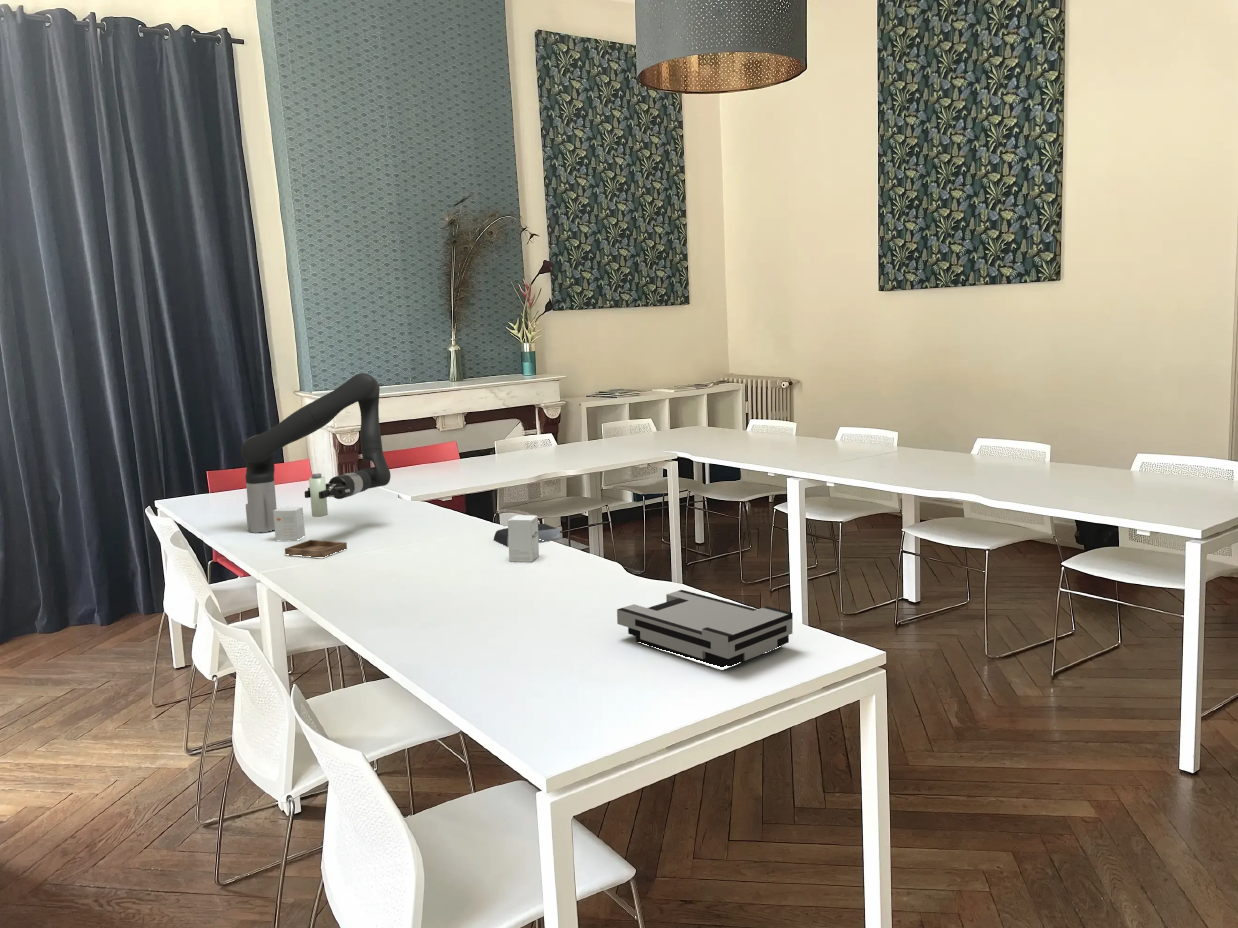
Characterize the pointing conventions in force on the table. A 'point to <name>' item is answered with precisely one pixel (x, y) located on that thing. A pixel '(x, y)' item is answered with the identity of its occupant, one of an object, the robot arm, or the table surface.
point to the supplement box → (523, 538)
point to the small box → (289, 523)
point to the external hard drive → (543, 533)
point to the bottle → (316, 503)
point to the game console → (707, 628)
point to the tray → (316, 548)
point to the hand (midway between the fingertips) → (312, 495)
